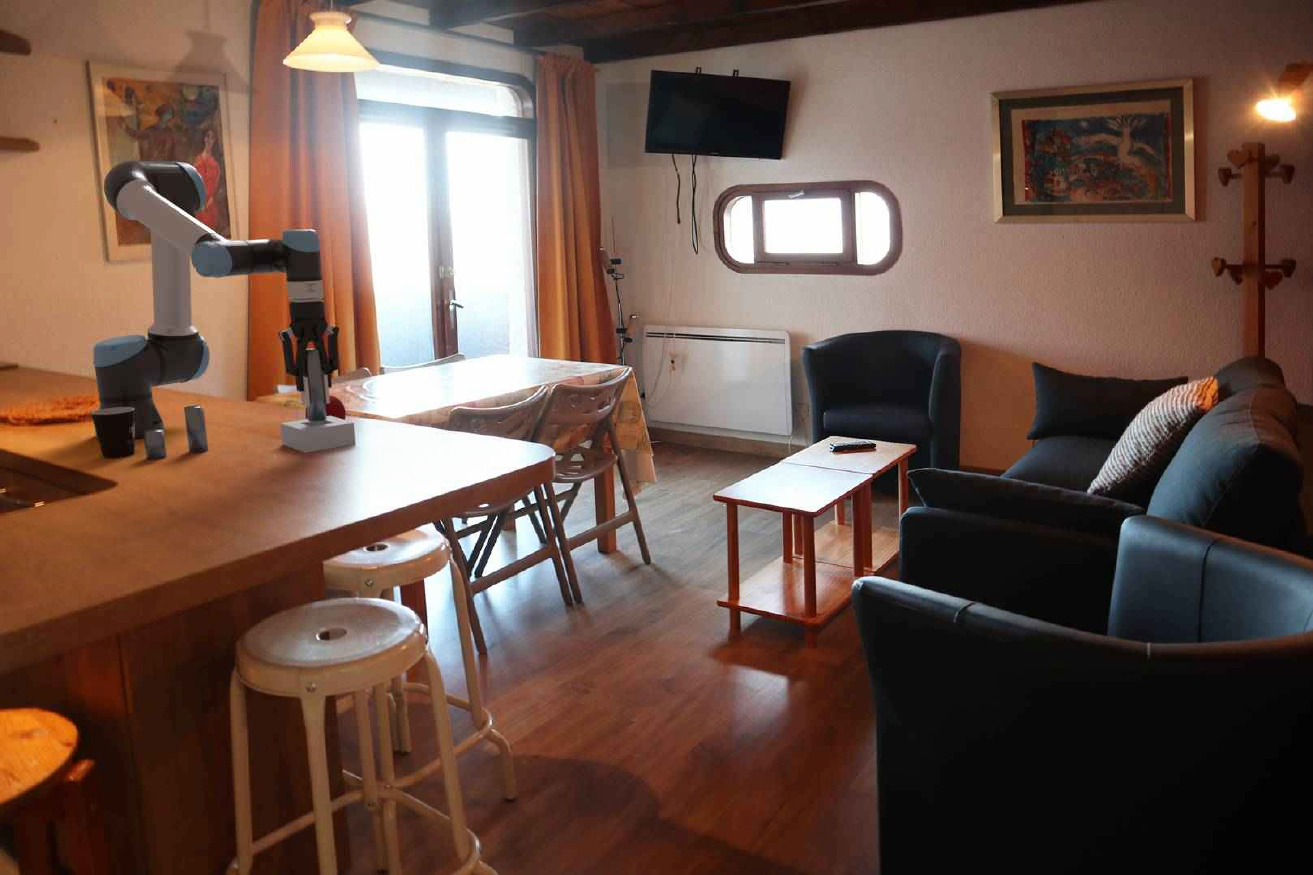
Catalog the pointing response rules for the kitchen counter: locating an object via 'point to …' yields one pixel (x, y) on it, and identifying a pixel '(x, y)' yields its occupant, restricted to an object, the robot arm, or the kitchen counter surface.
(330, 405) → the apple
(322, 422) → the hole block
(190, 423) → the medium pin
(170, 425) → the kitchen counter surface
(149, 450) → the short pin
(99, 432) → the coffee mug
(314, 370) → the long pin
